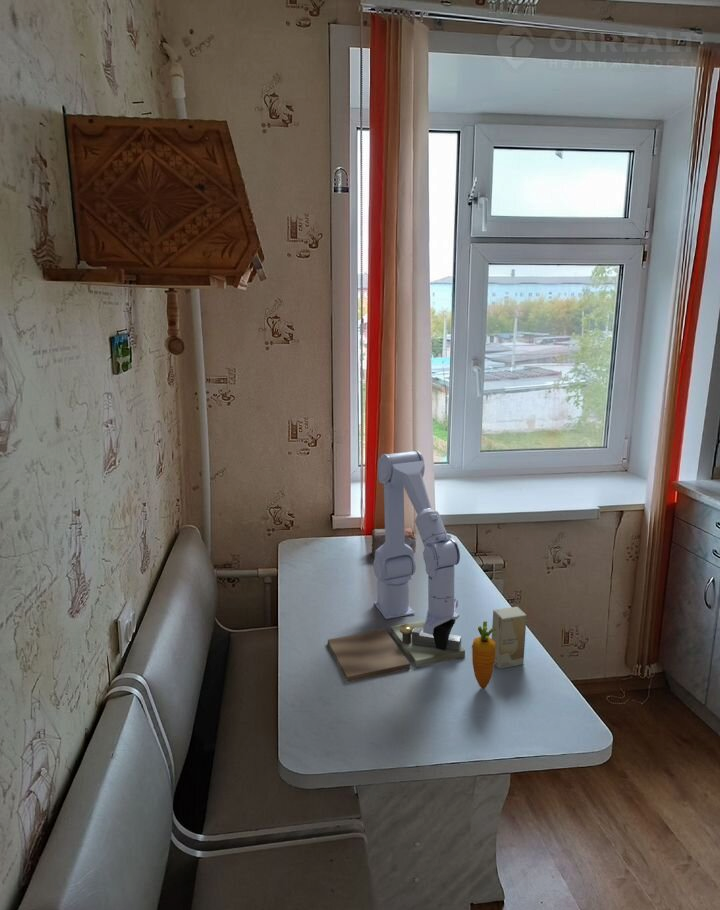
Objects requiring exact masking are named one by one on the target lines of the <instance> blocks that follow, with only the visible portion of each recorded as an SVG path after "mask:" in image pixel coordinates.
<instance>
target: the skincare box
mask: <svg viewBox="0 0 720 910" xmlns="http://www.w3.org/2000/svg"><path fill="white" fill-rule="evenodd" d="M491 625H492V627H491V629H492V628H496V630H495V631H493V632H492V633H491V639H492V640H494V641H495V643H496V652H495V663H494V665H496V667H498V669H503V668H509V667H515V666H521V665H524V661H525V659H524V658H525V645H526V643H525V642H526V630H527V629H526V627H527V614H526V613H525V612H524V611H523V610H522V609H521V608H520V607H519V606H512V607H504V608H499V609H493V610H492V624H491Z"/></svg>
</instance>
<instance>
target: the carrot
mask: <svg viewBox="0 0 720 910" xmlns="http://www.w3.org/2000/svg"><path fill="white" fill-rule="evenodd" d="M495 630H496V628H492V627H491V628H490V629H489V631H488V621H486V620H485V621H484V620H483V623H482V626H481V625H479V626H477V631H478V633H479V635H480V636H478V637H476V638H474V639H473V642H472V645H471V647H472V648H471V649H472V651H471V655H472V668H473V673H474V676H475V677H474V678H475V679H476V682H477V683H478V686H479V687H480V688H481V689H482V690H484V689H486V688H487V687H488V685H489V683H490V681H491V679H492V676H493V672H494V667H495V652H496V643H495V641H494V640H492V637H491V638H490V637H489V636H490V635H492V632H493V631H495Z"/></svg>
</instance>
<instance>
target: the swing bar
mask: <svg viewBox="0 0 720 910" xmlns="http://www.w3.org/2000/svg"><path fill="white" fill-rule="evenodd" d="M402 624H403V625H401V626H400V632H401V633H403V634H412V644H416V645H422V646H429V647H436V645H435V640H434V637H433V634H432V635H431V634H427V633H424V632H423V631H422V630H421V628H414V627H413V626H412V625H410V624H405V623H402ZM460 647H462V636H461V635H456V634H451V635H449V639H448V643H447V647H446V649H449V650H456V651H460Z"/></svg>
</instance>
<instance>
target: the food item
mask: <svg viewBox="0 0 720 910" xmlns="http://www.w3.org/2000/svg"><path fill="white" fill-rule="evenodd" d="M404 530H405V544H407V545H409V546H410V547H411V548H412V550H413V552H414V554H416V553H417V552H416V549H417V544H416V542H417V538H416V534H415V532H414V531H413V529H412V527H407V528H406V527H404ZM371 543H372V544H371V554H372V557H373V558H374V559H375V551H376V550H377V549H378V548H379V547H380V546H382V545H383V544H384V543H385V528H374V529H373V530H372V531H371Z"/></svg>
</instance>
